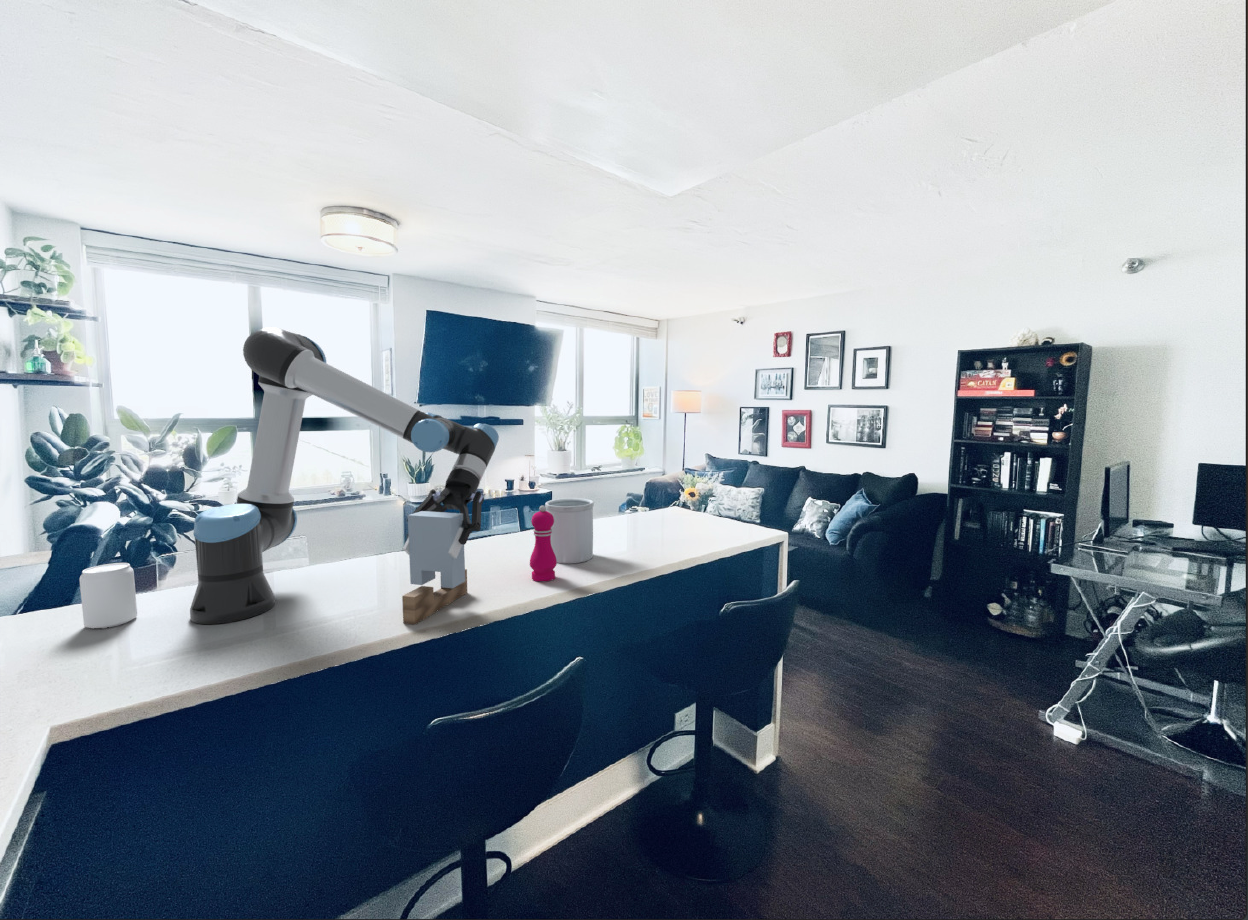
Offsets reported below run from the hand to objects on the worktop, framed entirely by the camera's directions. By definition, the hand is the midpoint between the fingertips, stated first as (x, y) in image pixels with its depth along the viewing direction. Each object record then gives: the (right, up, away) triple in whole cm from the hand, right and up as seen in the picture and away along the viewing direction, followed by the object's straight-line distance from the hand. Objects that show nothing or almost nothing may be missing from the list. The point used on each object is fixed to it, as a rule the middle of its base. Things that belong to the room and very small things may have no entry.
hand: (429, 553), depth 116 cm
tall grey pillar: (+1, -7, +3) cm, 8 cm away
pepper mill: (+22, -11, +25) cm, 35 cm away
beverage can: (-66, -14, -6) cm, 67 cm away
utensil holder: (+27, -9, +45) cm, 53 cm away
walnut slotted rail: (+1, -13, +4) cm, 14 cm away
